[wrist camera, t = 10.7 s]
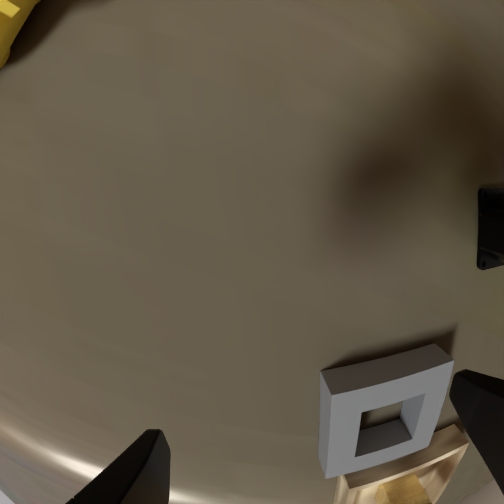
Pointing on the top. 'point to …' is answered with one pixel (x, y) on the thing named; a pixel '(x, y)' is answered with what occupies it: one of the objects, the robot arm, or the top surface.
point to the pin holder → (375, 396)
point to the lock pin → (402, 491)
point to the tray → (408, 469)
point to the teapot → (12, 23)
